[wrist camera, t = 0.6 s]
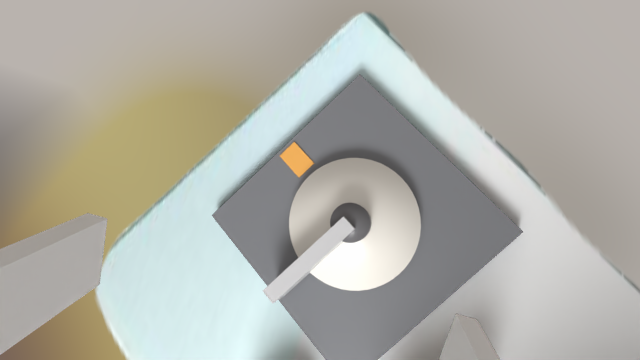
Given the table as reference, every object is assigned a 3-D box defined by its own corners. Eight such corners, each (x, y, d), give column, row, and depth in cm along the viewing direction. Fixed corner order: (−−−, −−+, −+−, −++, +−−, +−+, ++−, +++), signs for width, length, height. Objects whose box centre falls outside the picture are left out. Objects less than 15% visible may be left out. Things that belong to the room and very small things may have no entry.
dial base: (518, 231, 37) (523, 231, 36) (348, 380, 39) (346, 387, 37) (361, 79, 43) (359, 73, 41) (217, 215, 44) (211, 215, 43)
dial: (357, 133, 40) (353, 123, 36) (449, 227, 37) (456, 228, 33) (242, 241, 41) (225, 243, 37) (322, 341, 38) (313, 355, 34)
